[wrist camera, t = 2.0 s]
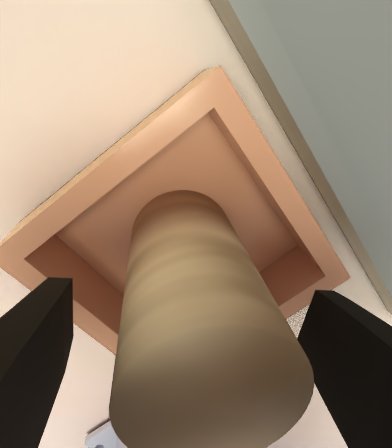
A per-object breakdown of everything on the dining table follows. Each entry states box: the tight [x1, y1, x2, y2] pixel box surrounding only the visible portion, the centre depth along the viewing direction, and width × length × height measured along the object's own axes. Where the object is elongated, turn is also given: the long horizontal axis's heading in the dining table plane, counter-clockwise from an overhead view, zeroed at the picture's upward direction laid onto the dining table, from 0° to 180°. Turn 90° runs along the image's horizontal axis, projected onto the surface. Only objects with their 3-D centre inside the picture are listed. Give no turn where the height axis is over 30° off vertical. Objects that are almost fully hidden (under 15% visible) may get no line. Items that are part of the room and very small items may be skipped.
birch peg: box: [109, 190, 314, 448], centre depth 10 cm, size 4×4×8 cm
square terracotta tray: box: [0, 66, 351, 355], centre depth 13 cm, size 10×10×3 cm
